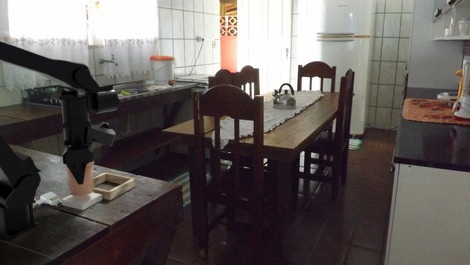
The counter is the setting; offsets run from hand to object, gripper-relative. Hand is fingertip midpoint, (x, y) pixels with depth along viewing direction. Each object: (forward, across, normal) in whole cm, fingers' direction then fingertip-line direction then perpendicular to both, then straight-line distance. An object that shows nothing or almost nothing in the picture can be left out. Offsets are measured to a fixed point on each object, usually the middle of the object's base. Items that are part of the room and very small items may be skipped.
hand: (80, 179), depth 90 cm
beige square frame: (+6, +6, -6) cm, 11 cm away
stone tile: (+6, 0, 0) cm, 6 cm away
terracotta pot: (+3, 0, 0) cm, 3 cm away
